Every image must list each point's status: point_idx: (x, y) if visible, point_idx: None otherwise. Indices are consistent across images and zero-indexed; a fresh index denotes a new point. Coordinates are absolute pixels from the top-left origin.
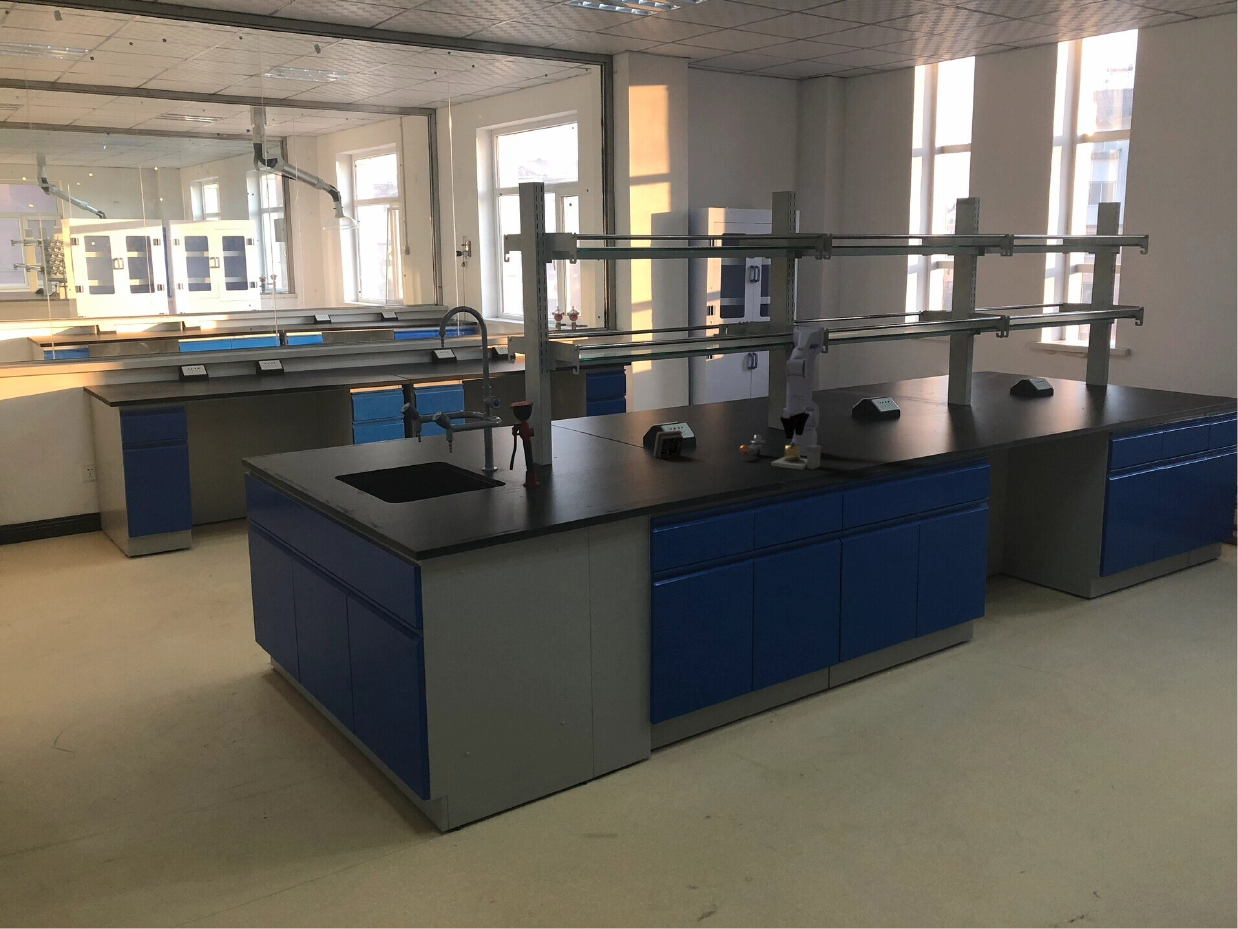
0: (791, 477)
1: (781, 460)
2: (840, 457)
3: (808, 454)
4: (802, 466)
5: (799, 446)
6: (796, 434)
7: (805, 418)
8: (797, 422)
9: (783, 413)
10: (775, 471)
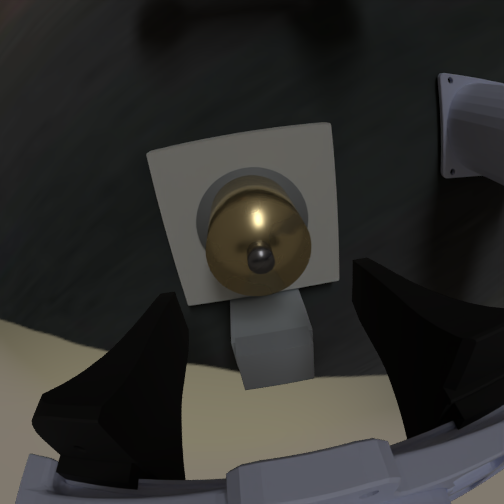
0: (69, 327)
1: (223, 164)
2: (469, 269)
3: (232, 338)
4: (190, 304)
5: (264, 295)
6: (354, 266)
7: (406, 424)
8: (402, 336)
9: (19, 493)
10: (81, 238)
